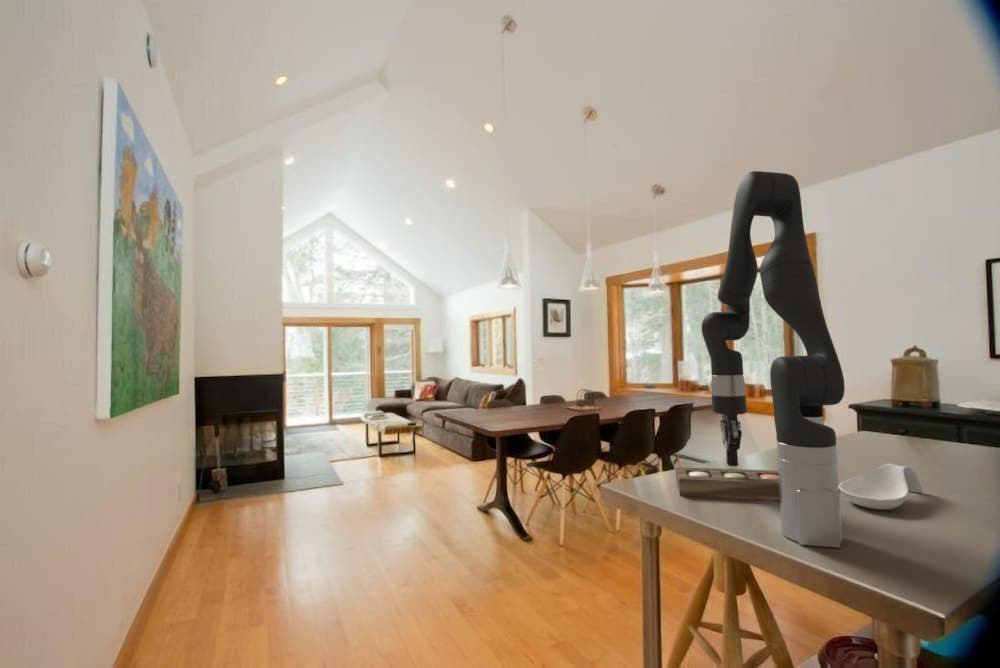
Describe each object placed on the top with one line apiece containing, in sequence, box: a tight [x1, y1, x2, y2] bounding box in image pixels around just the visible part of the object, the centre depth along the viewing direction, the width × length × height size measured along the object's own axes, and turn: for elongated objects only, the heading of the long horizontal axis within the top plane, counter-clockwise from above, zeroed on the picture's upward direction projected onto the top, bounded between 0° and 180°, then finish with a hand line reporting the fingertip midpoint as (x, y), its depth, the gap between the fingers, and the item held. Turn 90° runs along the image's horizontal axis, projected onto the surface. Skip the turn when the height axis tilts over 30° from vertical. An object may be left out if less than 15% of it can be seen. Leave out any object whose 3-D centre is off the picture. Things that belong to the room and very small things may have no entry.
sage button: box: [724, 473, 745, 478], centre depth 113 cm, size 5×5×3 cm
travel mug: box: [799, 405, 825, 425], centre depth 119 cm, size 6×7×20 cm
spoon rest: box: [838, 462, 923, 511], centre depth 103 cm, size 24×12×7 cm, turn 120°
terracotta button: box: [760, 474, 779, 480], centre depth 110 cm, size 5×5×3 cm
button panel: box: [675, 466, 780, 501], centre depth 113 cm, size 11×26×4 cm, turn 73°
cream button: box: [689, 472, 709, 477], centre depth 115 cm, size 5×5×3 cm
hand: (732, 465), depth 112 cm, fingers closed
